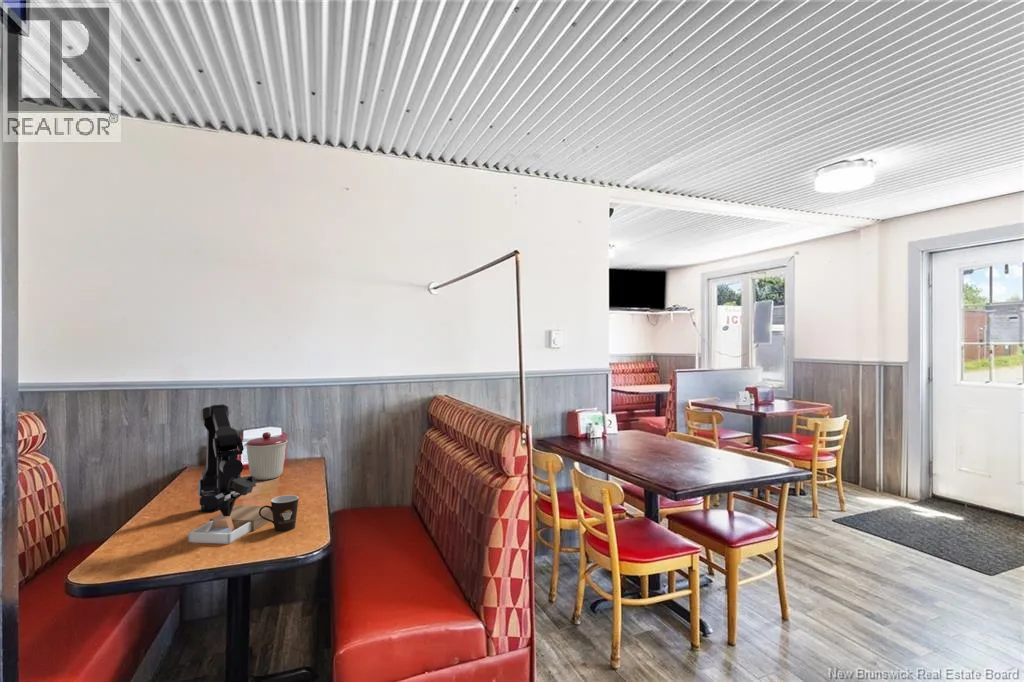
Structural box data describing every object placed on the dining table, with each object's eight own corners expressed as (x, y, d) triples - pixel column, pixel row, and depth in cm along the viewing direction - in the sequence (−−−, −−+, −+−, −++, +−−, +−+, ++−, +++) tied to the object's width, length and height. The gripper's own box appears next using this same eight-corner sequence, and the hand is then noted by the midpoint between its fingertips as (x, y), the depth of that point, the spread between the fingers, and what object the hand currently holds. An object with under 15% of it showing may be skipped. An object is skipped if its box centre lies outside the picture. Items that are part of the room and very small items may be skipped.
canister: (236, 482, 228) (236, 435, 228) (258, 472, 246) (258, 428, 246) (275, 482, 227) (275, 436, 227) (294, 472, 245) (294, 429, 245)
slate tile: (216, 526, 166) (216, 532, 166) (205, 532, 161) (205, 538, 161) (230, 527, 166) (230, 533, 166) (219, 533, 161) (219, 539, 161)
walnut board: (209, 529, 171) (209, 518, 171) (236, 515, 185) (236, 505, 185) (254, 530, 169) (254, 520, 169) (277, 516, 183) (277, 506, 183)
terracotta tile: (220, 527, 169) (216, 531, 167) (216, 515, 167) (212, 519, 165) (234, 528, 168) (230, 532, 167) (230, 516, 167) (226, 520, 165)
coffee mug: (301, 523, 177) (301, 494, 177) (295, 532, 168) (295, 502, 168) (265, 525, 175) (265, 496, 175) (257, 534, 166) (257, 504, 166)
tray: (188, 542, 160) (188, 532, 160) (212, 529, 171) (212, 520, 171) (229, 543, 158) (229, 534, 158) (251, 530, 169) (251, 521, 169)
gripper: (231, 479, 158) (231, 529, 157) (266, 464, 176) (266, 509, 176) (198, 478, 159) (198, 528, 159) (236, 464, 177) (236, 508, 177)
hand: (227, 518), depth 168 cm, fingers closed
